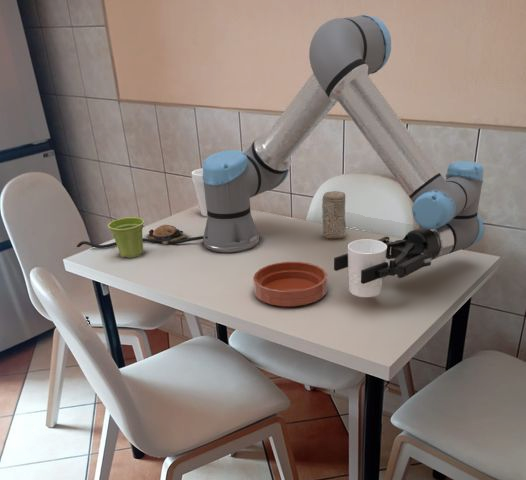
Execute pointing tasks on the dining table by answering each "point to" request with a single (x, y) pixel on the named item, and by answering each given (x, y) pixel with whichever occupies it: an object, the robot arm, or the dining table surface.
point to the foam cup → (200, 189)
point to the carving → (333, 214)
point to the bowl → (290, 283)
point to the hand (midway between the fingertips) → (348, 270)
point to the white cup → (365, 265)
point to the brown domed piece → (166, 233)
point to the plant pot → (128, 236)
